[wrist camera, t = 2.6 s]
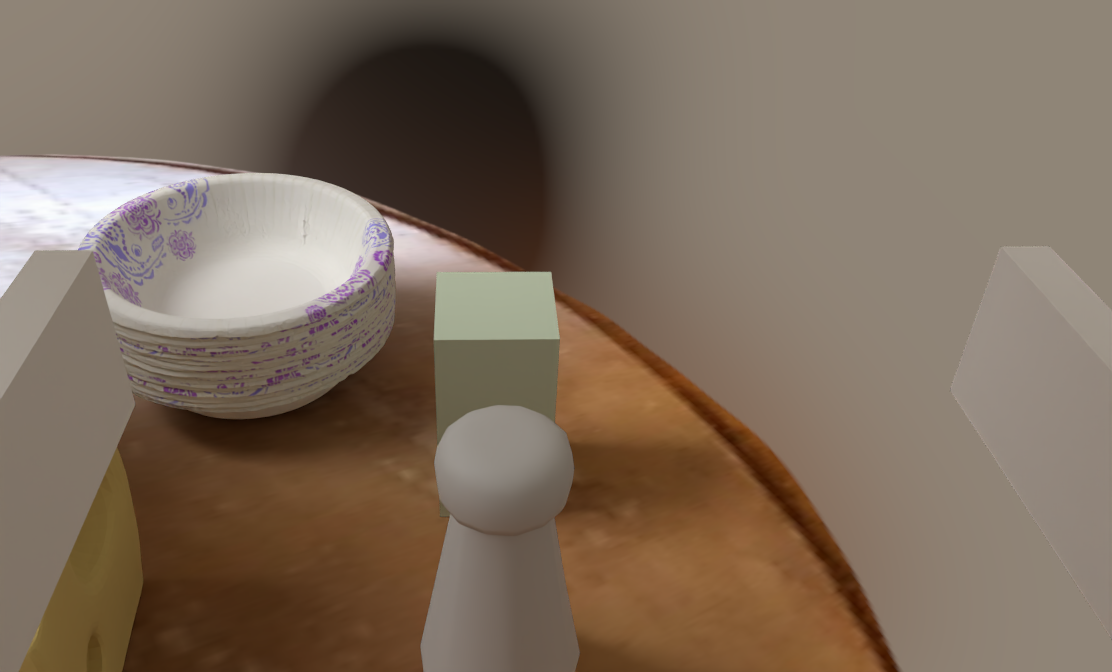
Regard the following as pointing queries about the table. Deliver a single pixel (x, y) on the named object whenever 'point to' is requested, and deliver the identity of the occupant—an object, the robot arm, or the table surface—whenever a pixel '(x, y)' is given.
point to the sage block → (494, 344)
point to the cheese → (94, 588)
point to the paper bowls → (245, 291)
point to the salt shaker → (501, 547)
